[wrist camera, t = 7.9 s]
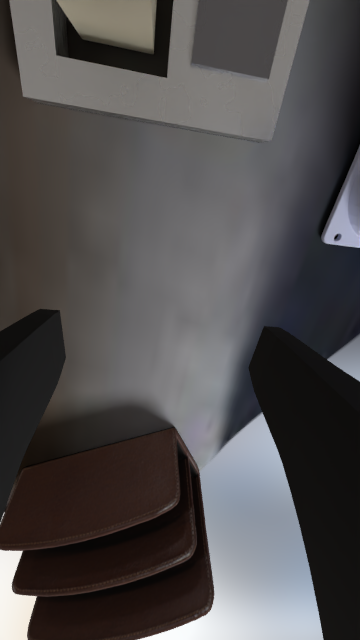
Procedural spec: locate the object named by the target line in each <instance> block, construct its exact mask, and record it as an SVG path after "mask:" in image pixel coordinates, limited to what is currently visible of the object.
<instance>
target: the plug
mask: <svg viewBox="0 0 360 640" xmlns="http://www.w3.org/2000/svg"><path fill="white" fill-rule="evenodd" d="M56 1H57V2H58V4H59V5H60V7H61V8H62V10H63V11H64V13H65V14H66V16H67V17H68V19H69V20H70V22H71V23H72V25H73V26H74V28H75V29H76V31H77V32H78V34H79V35H80V37H81V38H82V39H83V40H88V41H92V42H97V43H102V44H106V45H111V46H116V47H120V48H125V49H130V50H134V51H139V52H144V53H148V54H153V55H154V43H155V27H156V10H157V0H56Z"/></svg>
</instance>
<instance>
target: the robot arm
mask: <svg viewBox="0 0 360 640" xmlns="http://www.w3.org/2000/svg"><path fill="white" fill-rule="evenodd" d="M337 234H338V237H337V238H336V239H335V240H334V237H335V235H337ZM321 239H322V241H323V242H325V243H327V244H334V245H342V246H350V247H358V248H360V146H359V148H358V151H357V153H356V155H355V158H354V160H353V162H352V165H351V167H350V169H349V172H348V174H347V176H346V179H345V181H344V184H343V186H342V188H341V191H340V193H339V195H338V198H337V200H336V202H335V205H334V207H333V209H332V212H331V214H330V216H329V219H328V221H327V224H326V226H325V228H324V231H323V233H322V236H321ZM65 358H66V355H65V348H64V340H63V332H62V325H61V317H60V310H47V309H39V310H37V311H35V312H33V313H31V314H30V315H28V316H26V317H24V318H23V319H21V320H19V321H17V322H16V323H14V324H12V325H11V326H9V327H7V328H5V329H4V330H2V331H0V522H1V519H2V515H3V513H4V510H5V507H6V504H7V501H8V498H9V495H10V492H11V490H12V487H13V484H14V481H15V478H16V476H17V473H18V470H19V467H20V465H21V462H22V459H23V457H24V455H25V452H26V450H27V448H28V445H29V443H30V441H31V439H32V437H33V435H34V433H35V431H36V428H37V426H38V424H39V422H40V420H41V418H42V416H43V414H44V412H45V410H46V407H47V405H48V403H49V401H50V399H51V397H52V395H53V392H54V390H55V388H56V386H57V384H58V381H59V378H60V375H61V372H62V368H63V365H64V362H65ZM249 371H250V376H251V380H252V384H253V388H254V392H255V394H256V397H257V399H258V402H259V405H260V407H261V410H262V412H263V415H264V417H265V419H266V422H267V424H268V427H269V429H270V432H271V434H272V437H273V439H274V442H275V444H276V447H277V449H278V452H279V455H280V458H281V460H282V463H283V466H284V470H285V474H286V477H287V480H288V483H289V487H290V490H291V494H292V498H293V501H294V505H295V509H296V513H297V517H298V520H299V524H300V528H301V533H302V536H303V541H304V545H305V550H306V554H307V558H308V562H309V567H310V571H311V576H312V581H313V586H314V591H315V596H316V601H317V606H318V611H319V616H320V621H321V627H322V633H323V638H324V640H360V382H359V381H358V380H356V379H355V378H353V377H352V376H350V375H349V374H347V373H345V372H344V371H343V370H341V369H340V368H338V367H336V366H335V365H334V364H332V363H331V362H329V361H328V360H327V359H325V358H324V357H322V356H321V355H319V354H318V353H317V352H315V351H314V350H312V349H311V348H310V347H308V346H307V345H305V344H304V343H303V342H301V341H300V340H298V339H297V338H295V337H294V336H293V335H291V334H290V333H288V332H286V331H285V330H283V329H281V328H279V327H266V326H264V328H263V330H262V333H261V336H260V338H259V341H258V344H257V346H256V349H255V352H254V354H253V357H252V360H251V362H250V365H249Z"/></svg>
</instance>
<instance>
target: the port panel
mask: <svg viewBox="0 0 360 640" xmlns="http://www.w3.org/2000/svg"><path fill="white" fill-rule="evenodd" d="M9 1H10V8H11V15H12V22H13V29H14V36H15V43H16V50H17V57H18V64H19V71H20V78H21V84H22V91H23V97H26V98H28V99H30V100H33V101H35V102H38V103H40V104H45V105H51V106H57V107H62V108H68V109H73V110H79V111H85V112H90V113H96V114H101V115H107V116H113V117H118V118H124V119H129V120H135V121H141V122H146V123H152V124H157V125H163V126H169V127H174V128H180V129H185V130H191V131H197V132H202V133H208V134H213V135H219V136H225V137H230V138H236V139H241V140H247V141H253V142H258V143H260V142H270V141H272V137H273V133H274V130H275V126H276V122H277V119H278V115H279V111H280V107H281V104H282V100H283V96H284V93H285V89H286V85H287V82H288V78H289V74H290V71H291V67H292V63H293V59H294V56H295V52H296V48H297V45H298V41H299V37H300V34H301V30H302V26H303V22H304V19H305V15H306V11H307V8H308V4H309V0H173V8H172V20H171V32H170V44H169V57H168V69H167V78H164V77H159V76H155V75H150V74H145V73H140V72H135V71H130V70H125V69H120V68H115V67H110V66H106V65H101V64H96V63H91V62H86V61H81V60H76V59H71V58H69V54H68V39H67V24H66V14H65V13H64V11H63V10H62V8H61V7H60V5H59V4H58V2H57V1H56V0H9Z"/></svg>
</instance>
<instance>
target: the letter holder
mask: <svg viewBox="0 0 360 640" xmlns="http://www.w3.org/2000/svg"><path fill="white" fill-rule="evenodd" d="M0 550H5V551H7V550H12V551H23V552H22V556H21V559H20V561H19V564H18V567H17V570H16V572H15V576H14V579H13V582H12V590H13V592H14V593H15V594H19V595H29V596H37V598H36V601H35V605H34V608H33V612H32V615H31V619H30V622H29V627H28V633H27V637H28V640H137V639H141V638H145V637H148V636H152V635H155V634H159V633H161V632H165V631H168V630H171V629H174V628H176V627H179V626H182V625H184V624H187V623H189V622H191V621H194V620H196V619H198V618H200V617H202V616H204V615H206V614H207V613H208V612H209V611H210V610H211V608H212V604H213V600H214V585H213V578H212V570H211V563H210V555H209V548H208V541H207V533H206V526H205V517H204V508H203V501H202V492H201V483H200V473H199V469H198V466H197V465H196V463H195V461H194V460H193V458H192V456H191V454H190V453H189V451H188V449H187V447H186V445H185V444H184V442H183V440H182V439H181V437H180V435H179V434H178V432H177V430H176V429H175V428H171V429H167V430H163V431H159V432H155V433H151V434H148V435H144V436H140V437H136V438H133V439H129V440H125V441H122V442H118V443H114V444H110V445H107V446H103V447H99V448H96V449H92V450H88V451H84V452H81V453H77V454H73V455H70V456H66V457H62V458H58V459H54V460H51V461H47V462H43V463H40V464H36V465H32V466H29V467H25V468H23V469H22V471H21V473H20V475H19V479H18V481H17V484H16V486H15V489H14V491H13V494H12V496H11V499H10V501H9V504H8V506H7V509H6V511H5V514H4V516H3V519H2V521H1V524H0Z"/></svg>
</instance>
